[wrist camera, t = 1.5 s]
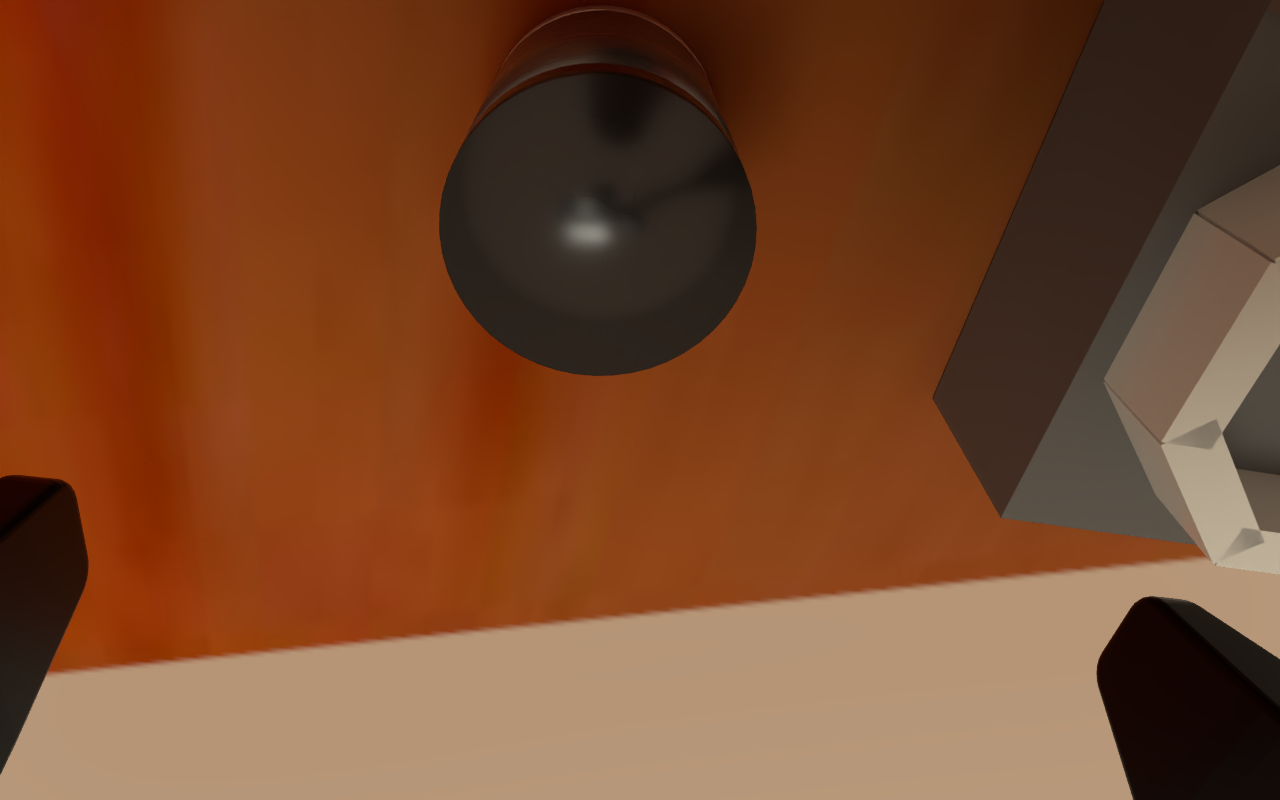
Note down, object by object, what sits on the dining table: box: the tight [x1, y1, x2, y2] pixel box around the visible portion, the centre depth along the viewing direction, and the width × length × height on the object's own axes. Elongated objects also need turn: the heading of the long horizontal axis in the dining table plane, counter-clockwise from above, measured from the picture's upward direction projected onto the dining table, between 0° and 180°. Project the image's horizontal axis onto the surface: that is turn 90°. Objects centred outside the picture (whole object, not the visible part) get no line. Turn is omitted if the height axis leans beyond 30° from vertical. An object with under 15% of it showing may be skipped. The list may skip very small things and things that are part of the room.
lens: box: [439, 5, 757, 376], centre depth 15 cm, size 5×5×6 cm
